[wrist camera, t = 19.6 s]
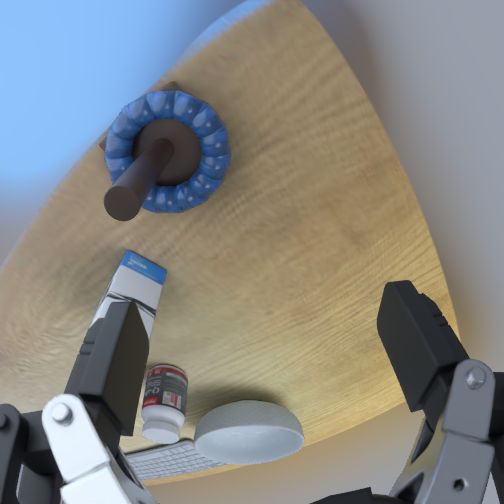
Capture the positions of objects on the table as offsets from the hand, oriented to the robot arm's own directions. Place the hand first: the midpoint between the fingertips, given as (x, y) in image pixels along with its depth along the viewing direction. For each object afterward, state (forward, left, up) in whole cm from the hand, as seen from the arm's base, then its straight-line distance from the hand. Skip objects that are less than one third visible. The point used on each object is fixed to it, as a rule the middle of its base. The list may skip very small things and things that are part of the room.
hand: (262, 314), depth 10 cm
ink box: (+18, +5, -20) cm, 27 cm away
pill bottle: (+26, +19, -20) cm, 38 cm away
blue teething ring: (+4, -4, -17) cm, 18 cm away
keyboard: (+60, +42, -20) cm, 76 cm away
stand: (+5, -4, -20) cm, 21 cm away
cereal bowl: (+23, +34, -20) cm, 45 cm away
